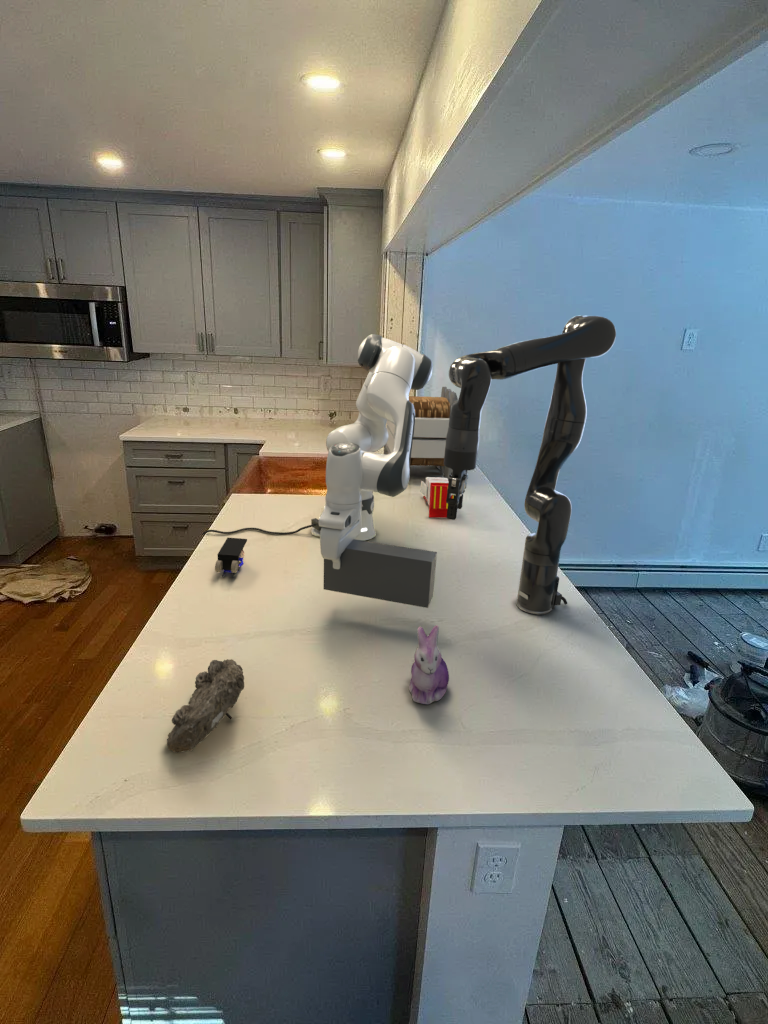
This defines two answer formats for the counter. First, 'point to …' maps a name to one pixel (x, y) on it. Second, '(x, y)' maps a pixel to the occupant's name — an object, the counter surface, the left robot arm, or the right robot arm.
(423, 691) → the figurine
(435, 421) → the transformer
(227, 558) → the black toy vehicle
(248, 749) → the counter surface
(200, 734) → the fossil
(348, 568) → the box
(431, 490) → the toy
